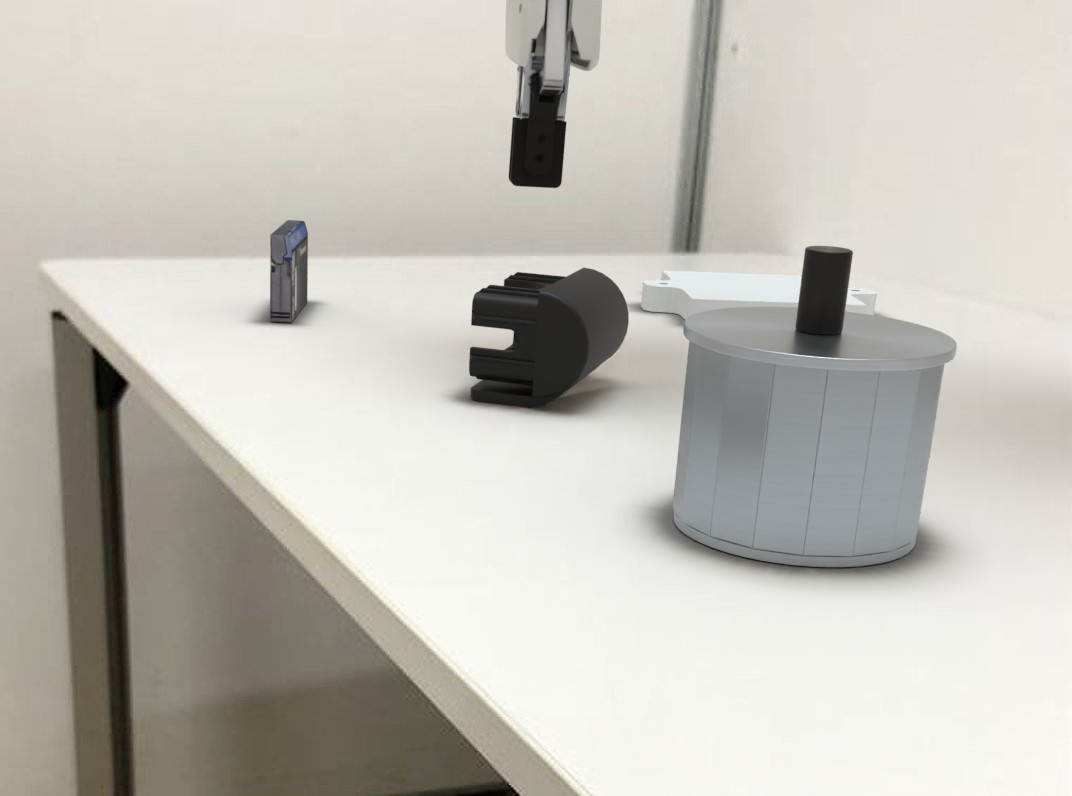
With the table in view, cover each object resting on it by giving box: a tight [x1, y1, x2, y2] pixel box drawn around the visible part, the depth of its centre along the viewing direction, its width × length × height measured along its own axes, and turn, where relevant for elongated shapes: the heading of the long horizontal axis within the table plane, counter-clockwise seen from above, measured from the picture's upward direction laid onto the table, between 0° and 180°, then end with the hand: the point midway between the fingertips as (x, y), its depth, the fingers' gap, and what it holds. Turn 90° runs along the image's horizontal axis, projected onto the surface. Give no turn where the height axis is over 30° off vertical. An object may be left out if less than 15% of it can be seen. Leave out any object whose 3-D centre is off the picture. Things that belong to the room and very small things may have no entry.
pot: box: [672, 340, 945, 568], centre depth 72 cm, size 11×11×8 cm
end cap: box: [468, 267, 630, 408], centre depth 96 cm, size 10×7×7 cm
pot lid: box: [682, 245, 958, 372], centre depth 70 cm, size 12×12×5 cm
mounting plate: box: [640, 270, 878, 321], centre depth 125 cm, size 18×13×2 cm
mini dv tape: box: [269, 219, 309, 324], centre depth 116 cm, size 8×2×6 cm, turn 176°
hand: (534, 184), depth 102 cm, fingers closed
